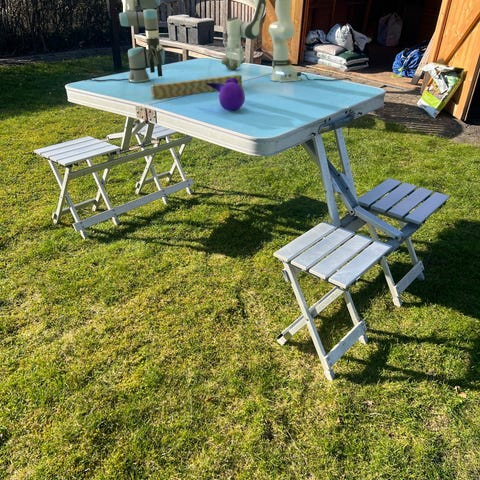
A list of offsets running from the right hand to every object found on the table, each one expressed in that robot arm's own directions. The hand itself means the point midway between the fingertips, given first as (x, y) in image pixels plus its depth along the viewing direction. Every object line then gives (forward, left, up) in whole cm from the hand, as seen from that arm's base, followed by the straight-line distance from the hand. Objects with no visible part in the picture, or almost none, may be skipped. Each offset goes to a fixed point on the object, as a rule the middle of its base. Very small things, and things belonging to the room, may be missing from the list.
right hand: (235, 66), depth 307 cm
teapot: (-3, -68, -14) cm, 70 cm away
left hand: (+52, +23, 0) cm, 57 cm away
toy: (+10, +57, -14) cm, 60 cm away
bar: (+26, +12, -14) cm, 32 cm away
